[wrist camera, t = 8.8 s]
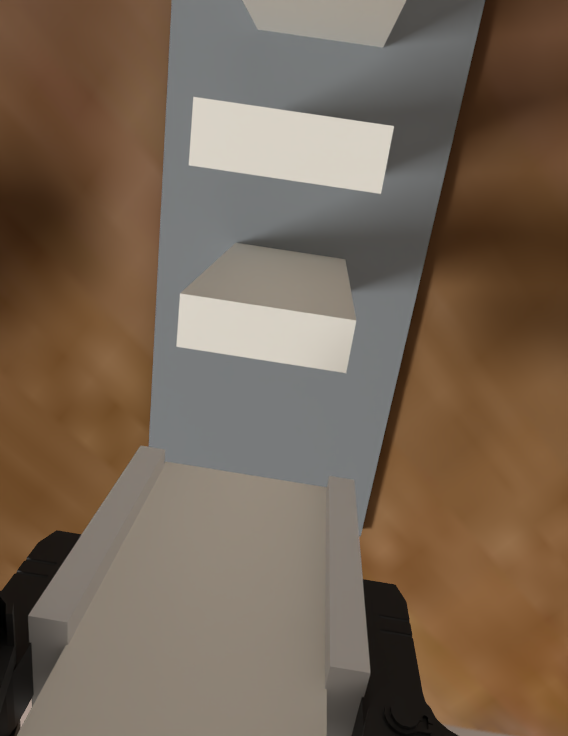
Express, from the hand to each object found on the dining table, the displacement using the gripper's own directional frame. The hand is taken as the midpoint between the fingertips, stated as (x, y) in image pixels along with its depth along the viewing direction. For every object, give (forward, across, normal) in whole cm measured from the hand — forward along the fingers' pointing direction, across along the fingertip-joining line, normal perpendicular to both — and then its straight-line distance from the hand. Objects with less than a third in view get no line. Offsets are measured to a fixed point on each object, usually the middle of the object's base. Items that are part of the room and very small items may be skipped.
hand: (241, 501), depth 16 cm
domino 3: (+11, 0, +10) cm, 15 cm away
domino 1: (0, 0, 0) cm, 0 cm away
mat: (+11, 0, +8) cm, 14 cm away
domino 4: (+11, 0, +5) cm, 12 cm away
